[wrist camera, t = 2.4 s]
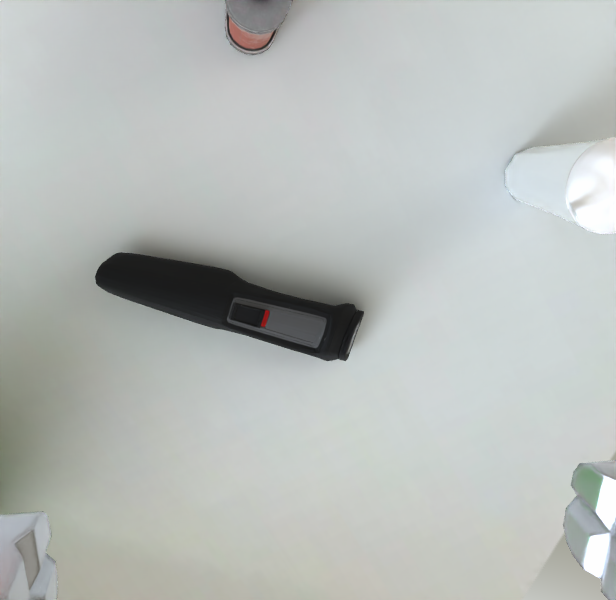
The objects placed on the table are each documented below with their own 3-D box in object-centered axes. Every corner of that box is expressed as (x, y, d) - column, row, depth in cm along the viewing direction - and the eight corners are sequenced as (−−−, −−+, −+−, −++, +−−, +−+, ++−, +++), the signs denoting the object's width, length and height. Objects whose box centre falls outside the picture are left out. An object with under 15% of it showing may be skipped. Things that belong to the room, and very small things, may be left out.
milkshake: (471, 160, 35) (564, 171, 25) (552, 124, 35) (676, 120, 25) (493, 229, 36) (589, 264, 27) (572, 194, 36) (696, 216, 27)
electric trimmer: (115, 230, 33) (103, 240, 30) (365, 304, 36) (377, 320, 33) (99, 291, 34) (86, 306, 31) (345, 359, 37) (355, 378, 34)
